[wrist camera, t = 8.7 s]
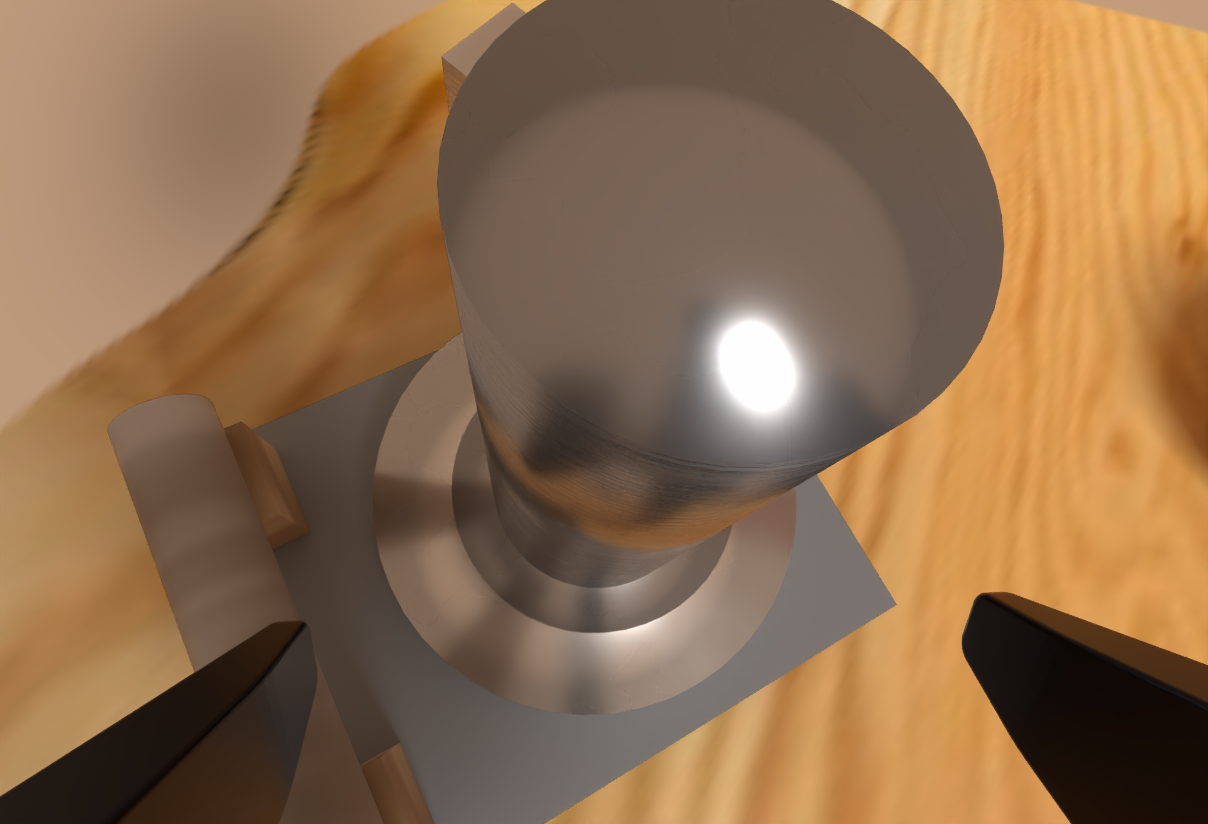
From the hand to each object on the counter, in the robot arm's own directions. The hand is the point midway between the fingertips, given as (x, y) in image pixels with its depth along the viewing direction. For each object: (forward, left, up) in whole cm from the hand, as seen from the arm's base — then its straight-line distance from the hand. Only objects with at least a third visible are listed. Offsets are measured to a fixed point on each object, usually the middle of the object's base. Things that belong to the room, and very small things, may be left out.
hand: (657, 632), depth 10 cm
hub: (+2, +3, -8) cm, 9 cm away
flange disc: (+2, +3, -9) cm, 10 cm away
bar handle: (-6, +3, -9) cm, 11 cm away
